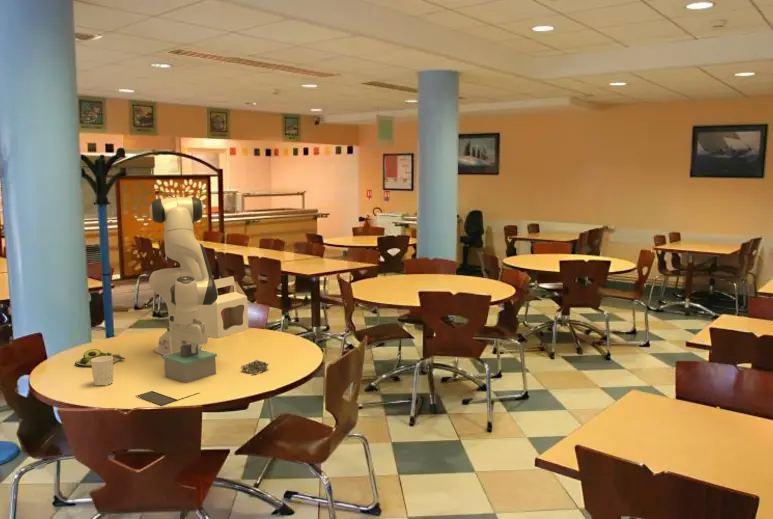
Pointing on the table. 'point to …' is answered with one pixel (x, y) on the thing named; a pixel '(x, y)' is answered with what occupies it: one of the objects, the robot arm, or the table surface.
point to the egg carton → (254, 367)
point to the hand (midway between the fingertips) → (189, 351)
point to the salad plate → (93, 354)
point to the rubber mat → (159, 398)
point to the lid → (189, 355)
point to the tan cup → (102, 370)
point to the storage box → (190, 370)
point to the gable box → (233, 311)
